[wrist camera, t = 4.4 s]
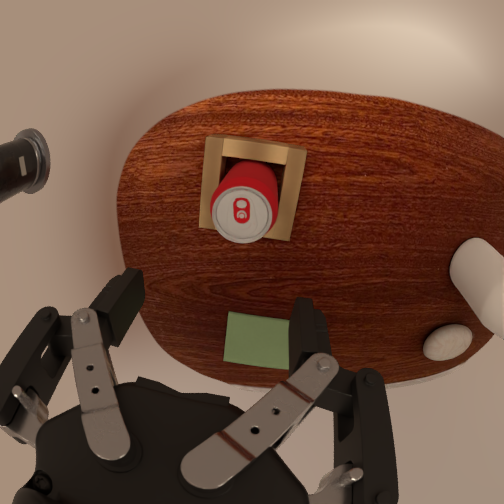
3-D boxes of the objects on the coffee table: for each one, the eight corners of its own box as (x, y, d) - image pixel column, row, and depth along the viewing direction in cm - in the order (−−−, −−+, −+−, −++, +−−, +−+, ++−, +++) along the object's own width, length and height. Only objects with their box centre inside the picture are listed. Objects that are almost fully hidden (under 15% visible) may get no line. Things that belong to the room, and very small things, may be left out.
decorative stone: (473, 319, 42) (483, 335, 38) (451, 349, 47) (459, 365, 42) (435, 314, 42) (445, 332, 38) (412, 347, 46) (419, 365, 42)
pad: (223, 359, 51) (223, 360, 50) (228, 311, 44) (228, 312, 44) (304, 369, 51) (304, 371, 50) (323, 324, 44) (324, 325, 44)
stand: (206, 215, 37) (198, 227, 33) (213, 133, 31) (205, 136, 28) (288, 227, 36) (289, 241, 33) (303, 146, 31) (307, 150, 28)
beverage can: (228, 204, 36) (207, 247, 25) (226, 157, 33) (202, 181, 22) (276, 205, 35) (277, 250, 25) (278, 157, 32) (279, 181, 22)
